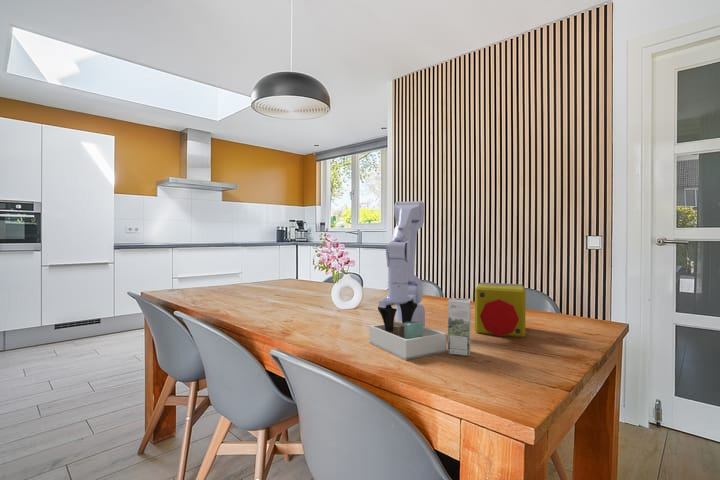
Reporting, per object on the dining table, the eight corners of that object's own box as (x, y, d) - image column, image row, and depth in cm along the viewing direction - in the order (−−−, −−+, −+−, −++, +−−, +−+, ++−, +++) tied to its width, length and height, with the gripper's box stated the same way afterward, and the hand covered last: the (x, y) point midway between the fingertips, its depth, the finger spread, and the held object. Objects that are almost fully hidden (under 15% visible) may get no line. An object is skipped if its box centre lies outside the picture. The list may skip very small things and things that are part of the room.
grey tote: (406, 336, 115) (406, 320, 115) (446, 352, 100) (446, 333, 99) (369, 342, 108) (369, 325, 108) (405, 360, 93) (405, 340, 93)
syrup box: (470, 350, 101) (471, 298, 101) (469, 357, 95) (470, 301, 95) (449, 348, 103) (449, 296, 103) (447, 355, 97) (447, 300, 97)
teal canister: (415, 345, 103) (416, 320, 103) (426, 350, 99) (426, 324, 99) (400, 347, 101) (401, 322, 101) (410, 352, 97) (410, 325, 97)
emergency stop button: (472, 340, 111) (472, 291, 110) (478, 323, 133) (478, 282, 133) (526, 346, 105) (527, 294, 105) (523, 327, 127) (523, 284, 127)
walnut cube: (396, 338, 111) (396, 321, 111) (409, 341, 107) (409, 324, 107) (384, 341, 108) (384, 324, 108) (397, 344, 104) (397, 327, 104)
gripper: (403, 279, 115) (403, 322, 115) (370, 283, 105) (370, 330, 105) (421, 281, 110) (421, 326, 110) (389, 286, 100) (389, 335, 100)
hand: (397, 329), depth 107 cm, fingers open, 7 cm apart
